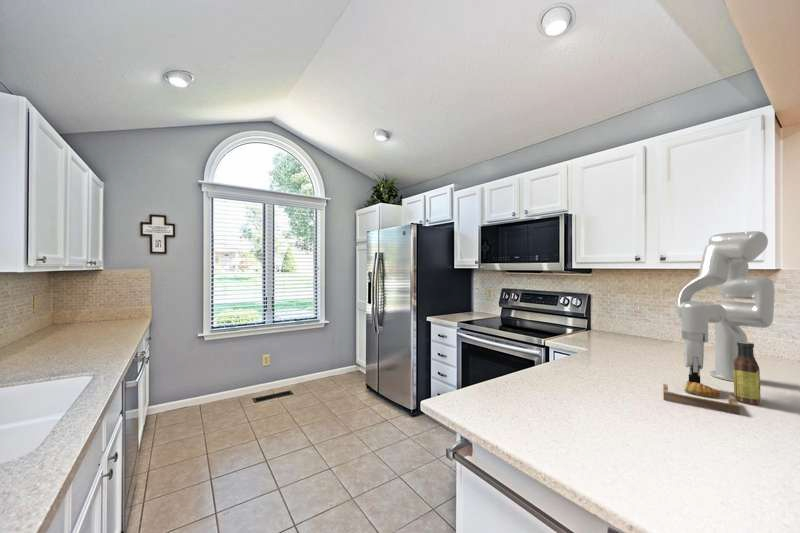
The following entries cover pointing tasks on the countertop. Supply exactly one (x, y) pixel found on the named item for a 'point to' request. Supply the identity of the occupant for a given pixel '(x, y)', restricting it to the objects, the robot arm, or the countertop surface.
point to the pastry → (701, 390)
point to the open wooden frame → (703, 402)
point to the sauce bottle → (746, 375)
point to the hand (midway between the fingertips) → (694, 385)
